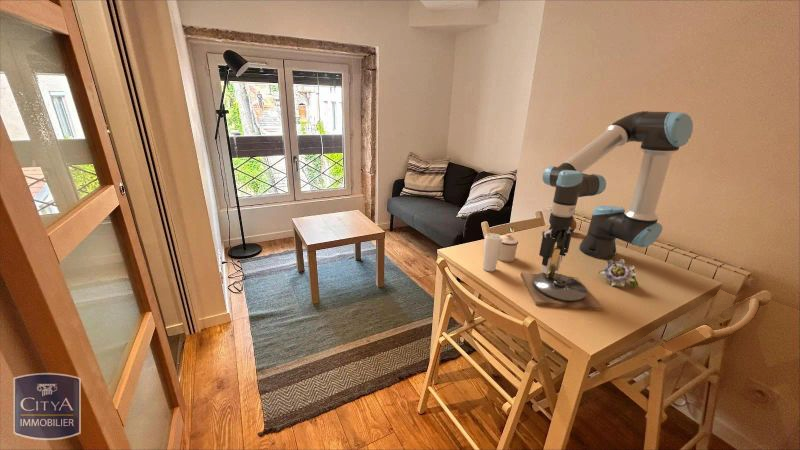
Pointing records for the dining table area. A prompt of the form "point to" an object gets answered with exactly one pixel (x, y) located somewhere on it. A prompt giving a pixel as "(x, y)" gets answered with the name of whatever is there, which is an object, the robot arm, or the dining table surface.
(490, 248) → the drinking glass
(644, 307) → the dining table surface
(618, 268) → the passion flower
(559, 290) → the handwheel
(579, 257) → the dining table surface
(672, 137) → the robot arm
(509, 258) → the teacup with lid
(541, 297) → the base plate
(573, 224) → the onion
